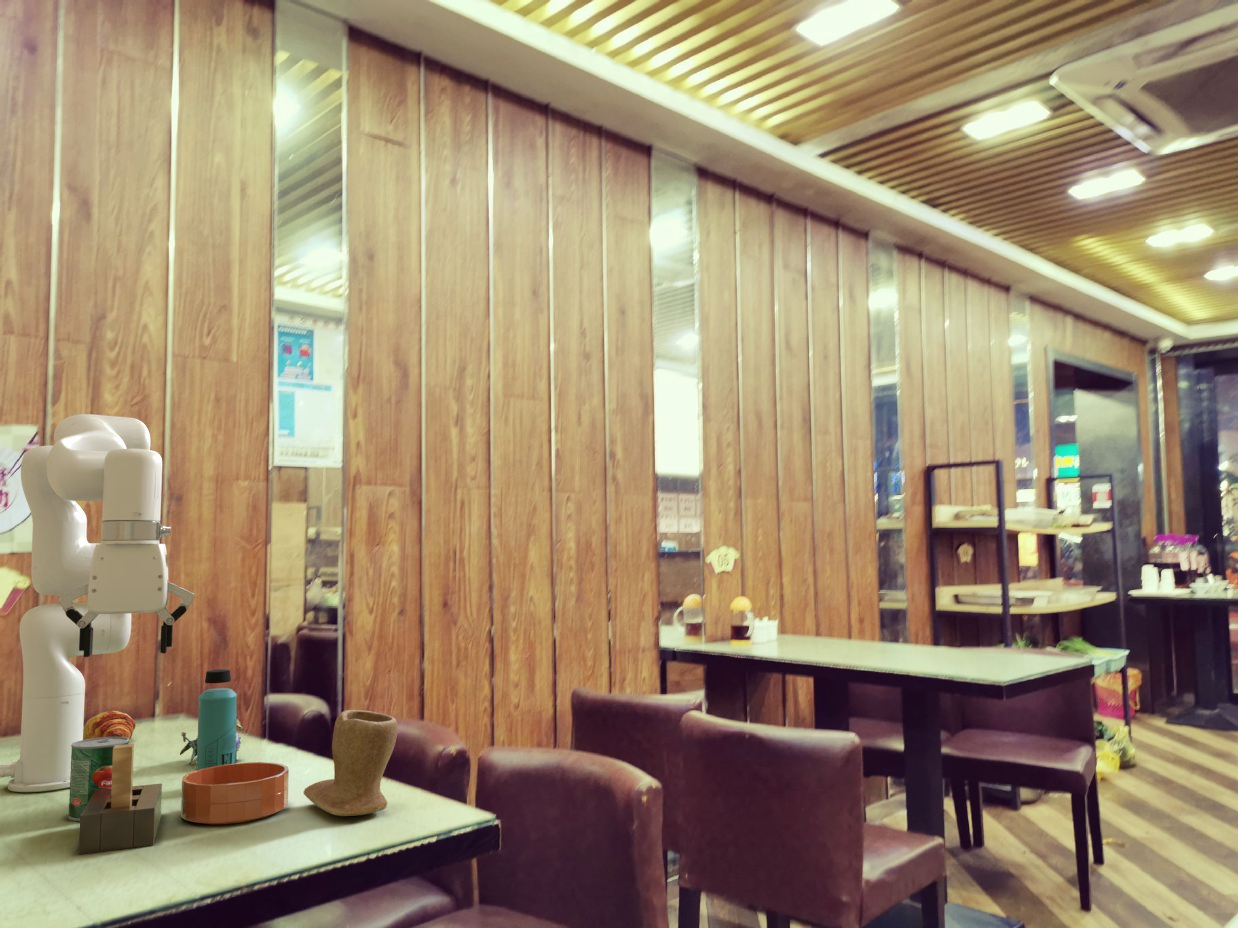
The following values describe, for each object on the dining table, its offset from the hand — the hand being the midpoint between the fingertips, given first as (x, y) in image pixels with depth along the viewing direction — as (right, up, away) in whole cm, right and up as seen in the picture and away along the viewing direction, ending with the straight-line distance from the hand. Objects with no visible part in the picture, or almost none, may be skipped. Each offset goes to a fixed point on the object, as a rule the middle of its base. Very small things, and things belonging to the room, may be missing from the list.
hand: (126, 654), depth 132 cm
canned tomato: (-11, -27, +11) cm, 31 cm away
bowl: (+11, -27, +11) cm, 31 cm away
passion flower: (-8, -31, +47) cm, 57 cm away
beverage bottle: (+1, -29, +27) cm, 39 cm away
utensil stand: (-1, -26, 0) cm, 26 cm away
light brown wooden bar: (+1, -26, -3) cm, 26 cm away
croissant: (-41, -34, +70) cm, 88 cm away
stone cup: (+29, -27, +12) cm, 41 cm away
